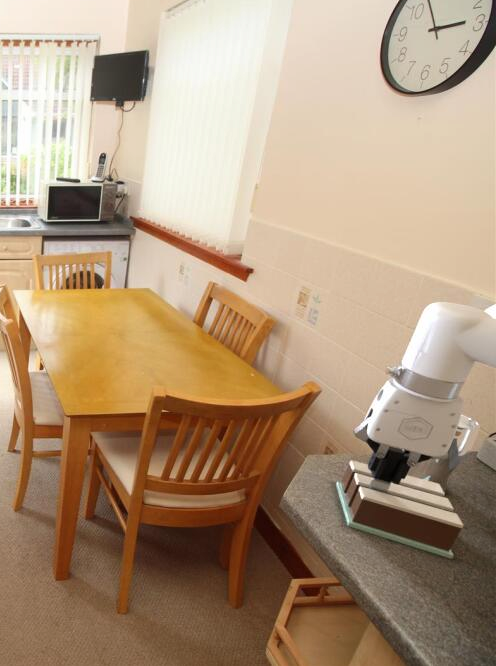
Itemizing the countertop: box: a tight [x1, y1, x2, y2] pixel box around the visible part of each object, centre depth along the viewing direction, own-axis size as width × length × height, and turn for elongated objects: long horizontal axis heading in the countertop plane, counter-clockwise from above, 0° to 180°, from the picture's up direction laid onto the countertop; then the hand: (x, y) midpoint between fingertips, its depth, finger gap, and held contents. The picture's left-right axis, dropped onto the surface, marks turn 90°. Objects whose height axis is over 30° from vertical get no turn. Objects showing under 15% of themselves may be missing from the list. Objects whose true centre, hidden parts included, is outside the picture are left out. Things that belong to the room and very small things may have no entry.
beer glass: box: [407, 413, 482, 493], centre depth 90 cm, size 7×7×15 cm
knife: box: [368, 446, 405, 493], centre depth 81 cm, size 2×1×14 cm, turn 64°
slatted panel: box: [335, 459, 464, 560], centre depth 83 cm, size 14×12×6 cm
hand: (383, 476), depth 80 cm, fingers closed on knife
